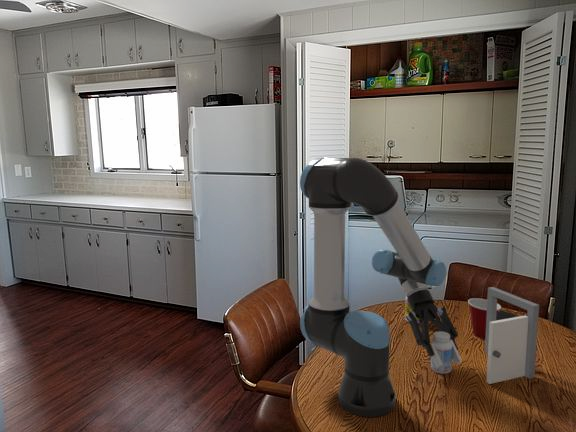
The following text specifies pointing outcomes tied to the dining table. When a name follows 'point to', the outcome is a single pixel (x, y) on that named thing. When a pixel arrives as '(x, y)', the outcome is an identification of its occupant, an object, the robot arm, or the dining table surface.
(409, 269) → the robot arm
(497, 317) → the phone
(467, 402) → the dining table surface
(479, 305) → the plastic cup
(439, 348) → the pill bottle
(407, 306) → the supplement bottle
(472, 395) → the dining table surface
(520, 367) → the door
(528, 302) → the door frame
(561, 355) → the dining table surface
